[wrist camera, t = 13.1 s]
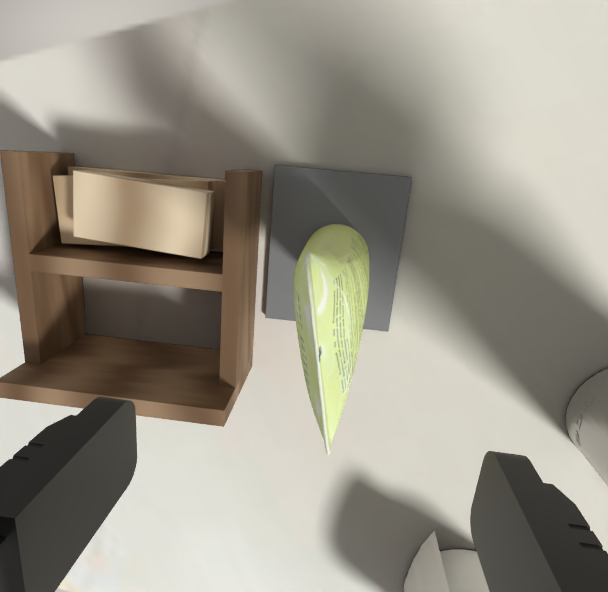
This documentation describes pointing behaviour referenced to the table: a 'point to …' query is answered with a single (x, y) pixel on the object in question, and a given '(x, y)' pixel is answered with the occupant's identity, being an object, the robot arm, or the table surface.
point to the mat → (336, 210)
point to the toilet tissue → (445, 570)
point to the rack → (133, 268)
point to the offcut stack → (141, 210)
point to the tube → (330, 317)
